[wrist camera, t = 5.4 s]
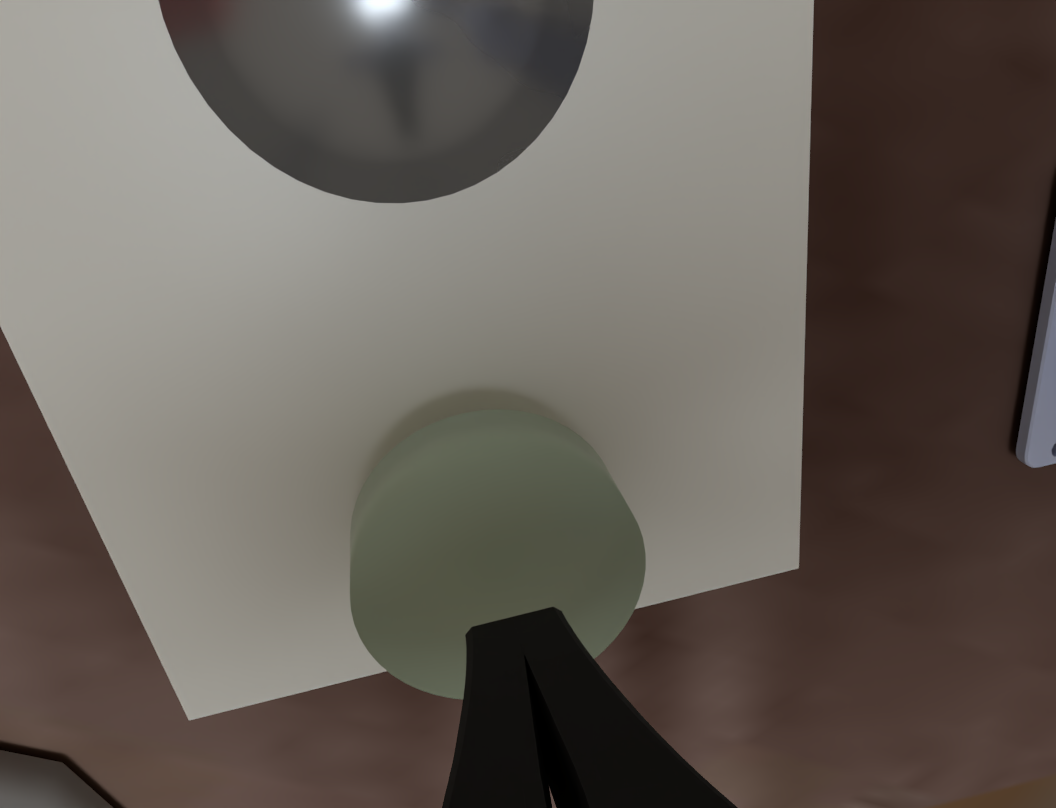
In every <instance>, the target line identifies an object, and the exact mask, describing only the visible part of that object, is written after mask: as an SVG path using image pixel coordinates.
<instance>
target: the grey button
mask: <svg viewBox="0 0 1056 808" xmlns="http://www.w3.org/2000/svg"><path fill="white" fill-rule="evenodd" d="M158 1H159V4H160V8H161V12H162V16H163V19H164V22H165V25H166V27H167V30H168V32H169V35H170V38H171V40H172V43H173V46H174V48H175V50H176V52H177V54H178V56H179V58H180V60H181V62H182V64H183V66H184V68H185V70H186V72H187V74H188V75H189V77H190V79H191V81H192V82H193V84H194V85H195V87H196V88H197V89H198V91H199V92H200V94H201V95H202V97H203V98H204V100H205V101H206V103H207V104H208V106H209V107H210V108H211V109H212V110H213V112H214V113H215V114H216V115H217V116H218V117H219V119H220V120H221V121H222V122H223V123H224V125H225V126H226V127H227V128H228V129H229V130H230V131H231V132H232V133H233V134H234V135H235V136H236V137H237V138H239V139H240V140H241V141H242V142H243V143H244V144H245V145H246V146H247V147H248V148H249V149H250V150H252V151H253V152H254V153H256V154H257V155H258V156H260V157H261V158H262V159H264V160H265V161H267V162H268V163H269V164H271V165H272V166H273V167H275V168H277V169H278V170H280V171H282V172H284V173H285V174H287V175H289V176H291V177H292V178H294V179H296V180H298V181H300V182H302V183H304V184H307V185H309V186H312V187H314V188H316V189H319V190H321V191H324V192H327V193H330V194H334V195H337V196H341V197H345V198H348V199H353V200H360V201H367V202H373V203H410V202H418V201H427V200H431V199H435V198H439V197H443V196H447V195H451V194H454V193H456V192H459V191H461V190H464V189H466V188H469V187H471V186H474V185H476V184H478V183H480V182H481V181H483V180H485V179H487V178H488V177H490V176H492V175H494V174H496V173H497V172H499V171H500V170H501V169H503V168H504V167H505V166H507V165H508V164H509V163H511V162H512V161H513V160H515V159H516V158H517V157H518V156H519V155H520V154H521V153H522V152H523V151H524V150H525V149H526V148H528V147H529V146H530V145H531V144H532V143H533V142H534V141H535V140H536V139H537V137H538V136H539V135H540V134H541V132H542V131H543V130H544V129H545V127H546V126H547V125H548V123H549V122H550V121H551V120H552V118H553V117H554V115H555V114H556V112H557V110H558V109H559V107H560V105H561V104H562V102H563V100H564V99H565V97H566V95H567V93H568V91H569V89H570V87H571V84H572V82H573V80H574V78H575V76H576V73H577V71H578V69H579V66H580V62H581V59H582V56H583V53H584V50H585V47H586V44H587V39H588V34H589V29H590V24H591V19H592V13H593V1H594V0H158Z"/></svg>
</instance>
